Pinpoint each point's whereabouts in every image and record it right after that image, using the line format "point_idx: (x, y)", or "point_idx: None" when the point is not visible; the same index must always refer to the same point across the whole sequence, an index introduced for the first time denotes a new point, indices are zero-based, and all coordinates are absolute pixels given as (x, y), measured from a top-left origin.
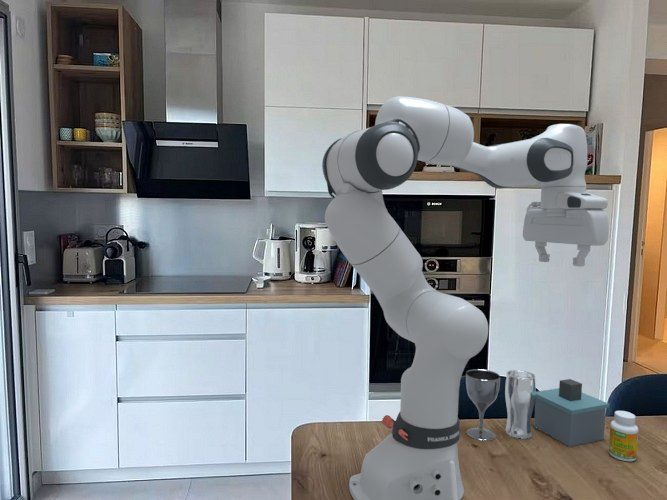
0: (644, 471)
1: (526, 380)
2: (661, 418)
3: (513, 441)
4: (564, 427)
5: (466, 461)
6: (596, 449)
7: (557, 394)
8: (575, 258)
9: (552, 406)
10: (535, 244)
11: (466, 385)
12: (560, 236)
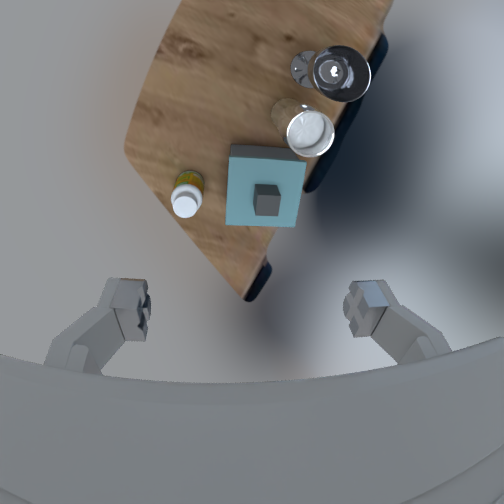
0: (157, 175)
1: (289, 123)
2: (237, 293)
3: (274, 90)
4: (241, 151)
5: (260, 2)
6: (213, 169)
7: (282, 188)
8: (119, 305)
9: None
10: (444, 341)
11: (349, 52)
12: (219, 434)
